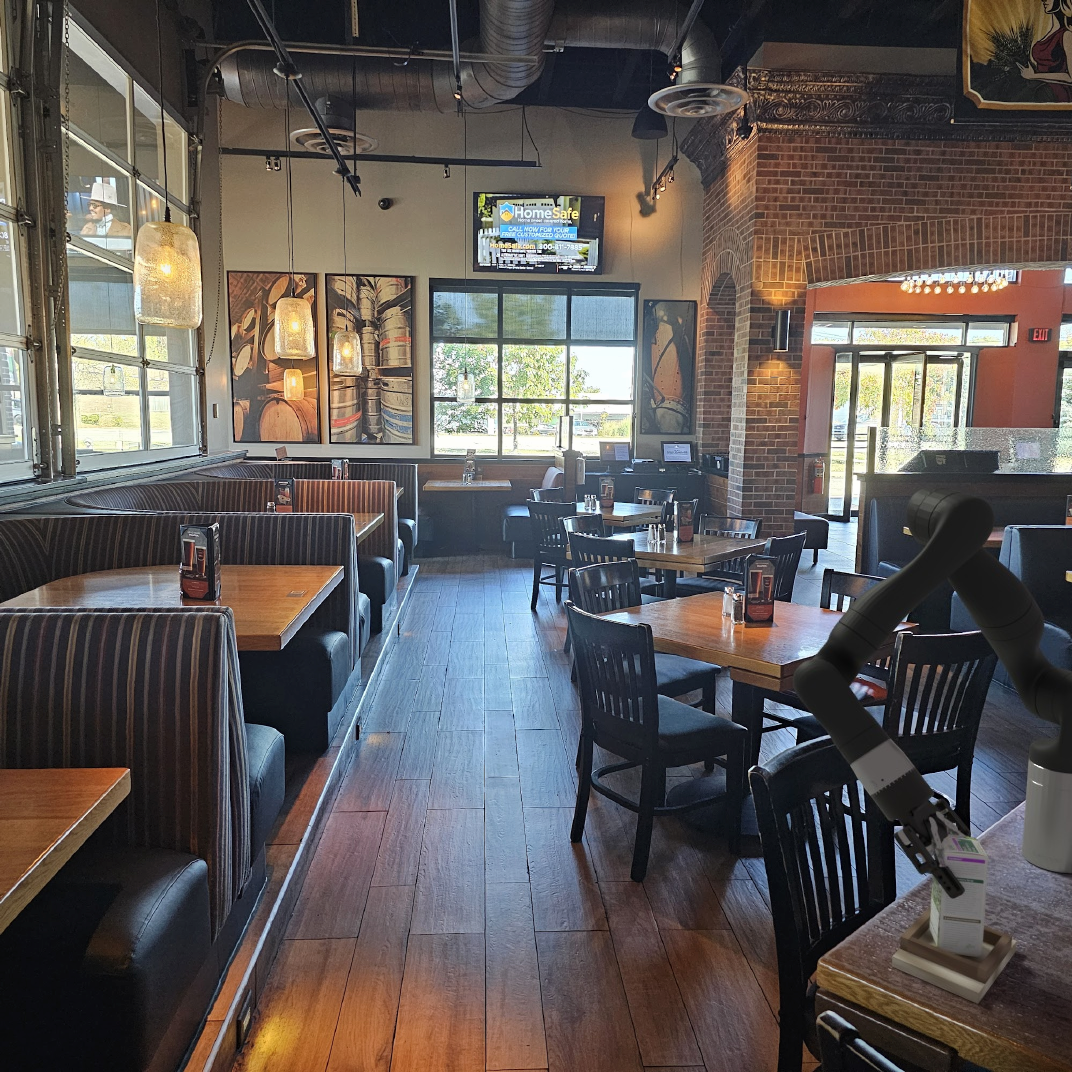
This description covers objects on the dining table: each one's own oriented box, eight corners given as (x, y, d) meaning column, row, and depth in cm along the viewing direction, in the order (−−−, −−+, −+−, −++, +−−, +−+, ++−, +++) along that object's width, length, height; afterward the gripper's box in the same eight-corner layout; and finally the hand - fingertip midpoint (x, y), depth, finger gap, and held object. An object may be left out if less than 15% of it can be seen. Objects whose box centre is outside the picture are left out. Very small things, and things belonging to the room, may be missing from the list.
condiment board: (935, 919, 129) (936, 899, 128) (1016, 950, 121) (1017, 928, 121) (891, 966, 118) (893, 943, 117) (977, 1003, 110) (979, 979, 110)
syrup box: (983, 958, 116) (992, 855, 114) (936, 951, 117) (944, 850, 115) (971, 935, 121) (979, 836, 120) (926, 929, 123) (934, 831, 121)
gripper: (890, 781, 117) (974, 892, 110) (929, 753, 127) (1009, 854, 120) (850, 806, 121) (929, 915, 114) (891, 777, 131) (966, 876, 124)
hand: (970, 883), depth 117 cm, fingers open, 8 cm apart
